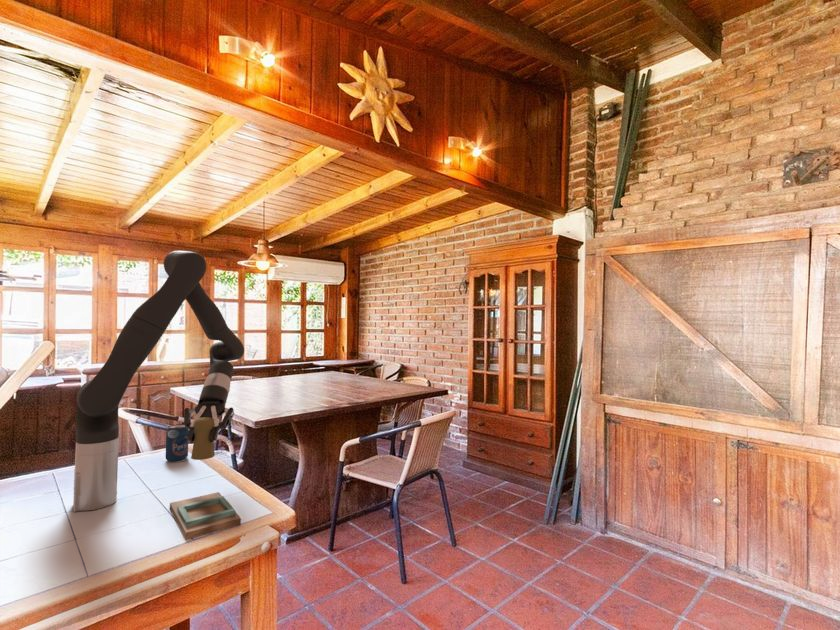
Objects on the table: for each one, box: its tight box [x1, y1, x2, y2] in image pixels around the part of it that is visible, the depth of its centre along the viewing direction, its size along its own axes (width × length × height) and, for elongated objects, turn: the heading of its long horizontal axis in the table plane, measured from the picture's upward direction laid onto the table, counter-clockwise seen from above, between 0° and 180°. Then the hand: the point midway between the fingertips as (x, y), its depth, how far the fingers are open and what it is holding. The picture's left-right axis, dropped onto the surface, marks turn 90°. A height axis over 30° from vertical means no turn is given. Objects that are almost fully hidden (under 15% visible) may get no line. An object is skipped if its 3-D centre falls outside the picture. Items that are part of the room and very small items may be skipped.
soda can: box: [165, 423, 190, 463], centre depth 151 cm, size 7×7×12 cm
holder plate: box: [169, 491, 242, 540], centre depth 108 cm, size 12×20×3 cm, turn 39°
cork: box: [190, 417, 215, 461], centre depth 121 cm, size 6×6×11 cm
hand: (201, 440), depth 120 cm, fingers closed on cork, 4 cm apart
